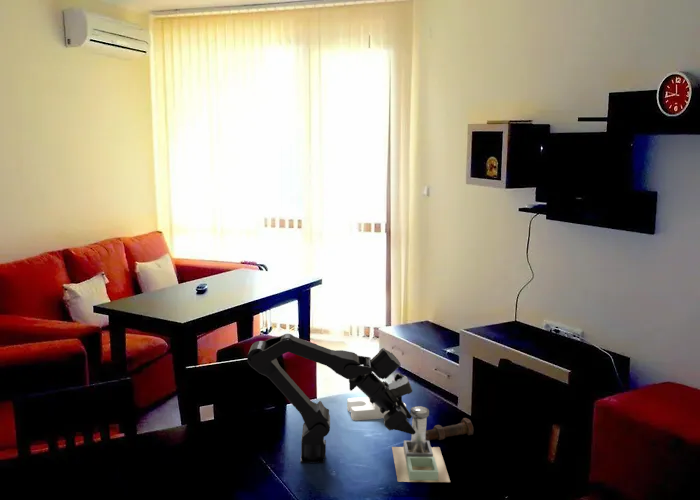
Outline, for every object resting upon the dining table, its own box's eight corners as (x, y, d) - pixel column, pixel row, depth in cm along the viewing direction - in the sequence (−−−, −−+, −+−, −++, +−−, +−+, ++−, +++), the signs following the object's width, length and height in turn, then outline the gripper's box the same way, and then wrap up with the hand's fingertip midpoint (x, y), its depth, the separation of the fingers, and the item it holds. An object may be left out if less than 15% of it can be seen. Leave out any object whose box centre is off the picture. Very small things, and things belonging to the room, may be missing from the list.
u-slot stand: (346, 408, 211) (347, 378, 209) (398, 404, 215) (399, 374, 213) (352, 421, 202) (353, 390, 200) (406, 416, 206) (407, 386, 204)
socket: (409, 480, 167) (409, 471, 167) (406, 464, 175) (406, 456, 174) (437, 480, 168) (438, 471, 167) (433, 465, 175) (434, 456, 175)
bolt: (424, 446, 191) (467, 437, 196) (431, 445, 186) (475, 436, 191) (420, 426, 192) (463, 418, 197) (426, 425, 188) (470, 416, 193)
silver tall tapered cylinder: (409, 459, 177) (411, 413, 175) (407, 450, 183) (409, 405, 180) (428, 459, 178) (430, 413, 175) (425, 450, 183) (427, 405, 180)
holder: (406, 461, 176) (406, 453, 176) (403, 448, 184) (403, 440, 183) (432, 462, 177) (432, 454, 176) (428, 448, 184) (429, 440, 183)
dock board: (397, 485, 167) (397, 481, 167) (391, 449, 185) (391, 446, 184) (450, 485, 167) (450, 482, 167) (439, 450, 185) (439, 447, 185)
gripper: (398, 383, 165) (438, 422, 168) (392, 357, 184) (428, 392, 186) (368, 411, 167) (408, 449, 169) (364, 382, 185) (401, 417, 188)
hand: (412, 425), depth 178 cm, fingers open, 9 cm apart
